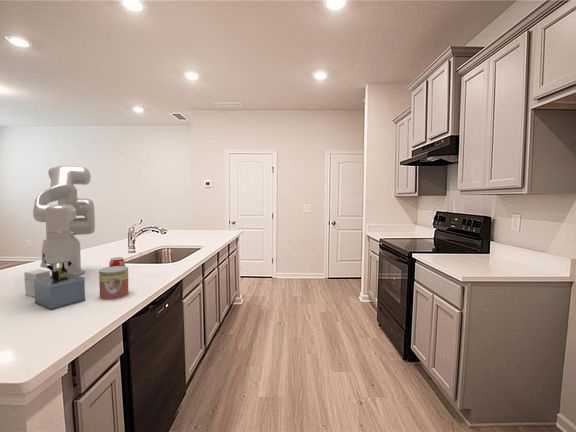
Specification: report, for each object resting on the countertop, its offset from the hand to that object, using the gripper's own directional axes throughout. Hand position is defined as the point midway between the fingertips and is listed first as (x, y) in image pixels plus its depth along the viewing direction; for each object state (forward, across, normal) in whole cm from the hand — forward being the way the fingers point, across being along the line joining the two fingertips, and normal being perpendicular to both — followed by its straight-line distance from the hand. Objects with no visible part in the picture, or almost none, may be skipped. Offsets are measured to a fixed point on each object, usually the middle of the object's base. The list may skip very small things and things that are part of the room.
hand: (59, 279), depth 119 cm
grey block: (+10, 0, 0) cm, 10 cm away
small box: (+10, +1, -18) cm, 21 cm away
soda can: (+10, -29, -9) cm, 32 cm away
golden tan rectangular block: (0, 0, +3) cm, 3 cm away
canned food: (+10, -16, +10) cm, 22 cm away
